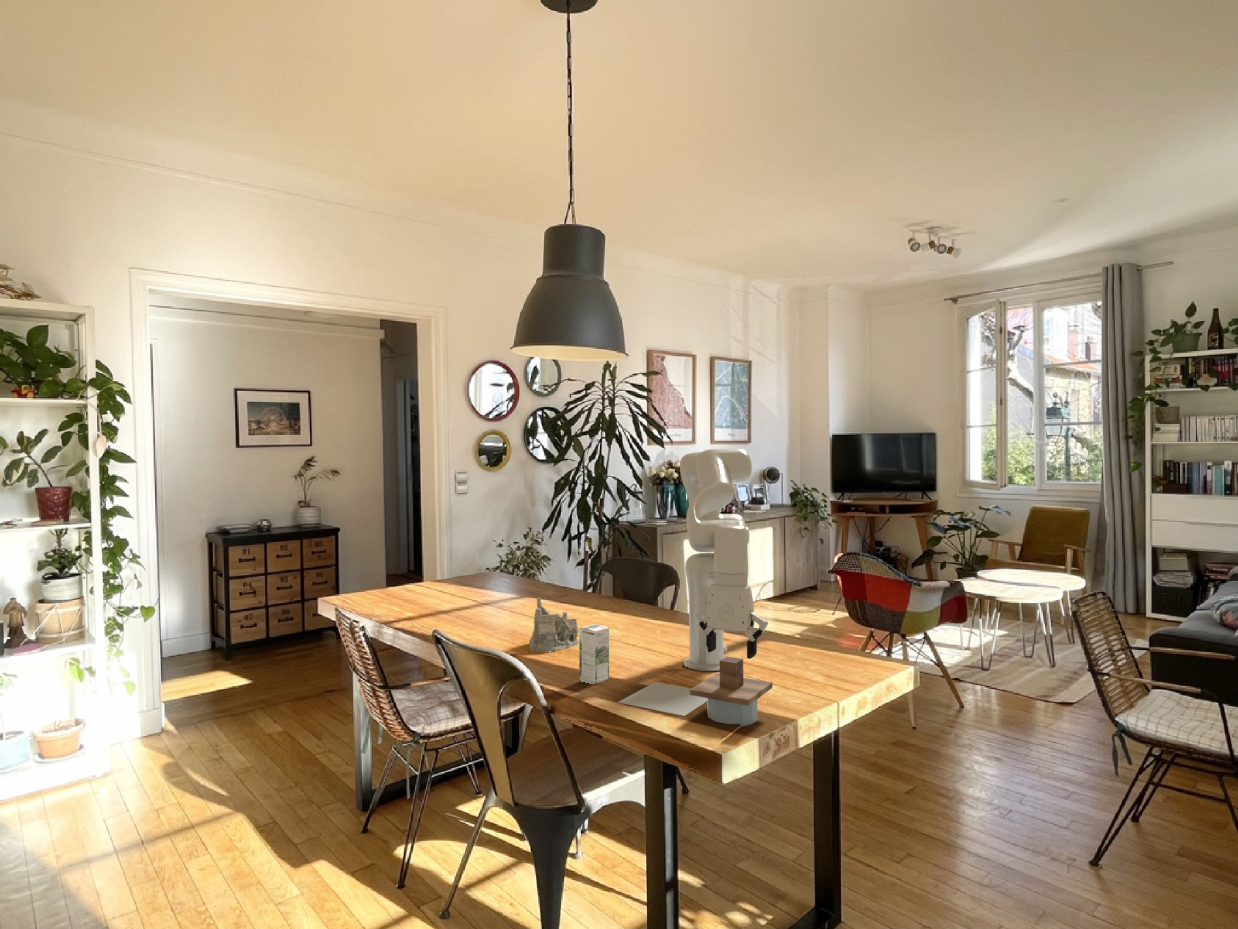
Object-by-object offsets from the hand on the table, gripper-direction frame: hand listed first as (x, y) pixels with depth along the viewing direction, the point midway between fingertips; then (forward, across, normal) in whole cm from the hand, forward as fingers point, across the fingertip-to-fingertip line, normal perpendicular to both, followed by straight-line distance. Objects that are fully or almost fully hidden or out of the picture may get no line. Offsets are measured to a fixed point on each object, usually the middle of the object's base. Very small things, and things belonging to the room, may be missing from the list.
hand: (731, 654), depth 171 cm
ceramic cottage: (+16, -73, +29) cm, 80 cm away
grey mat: (+15, -18, +2) cm, 23 cm away
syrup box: (+15, -42, +5) cm, 45 cm away
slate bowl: (+14, 0, -1) cm, 14 cm away
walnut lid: (+8, 0, 0) cm, 8 cm away
